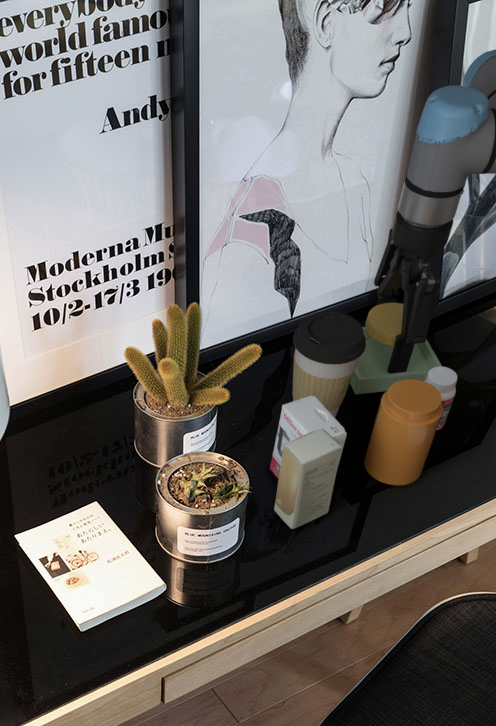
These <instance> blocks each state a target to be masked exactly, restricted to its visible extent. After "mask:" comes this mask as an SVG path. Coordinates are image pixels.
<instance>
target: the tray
mask: <svg viewBox="0 0 496 726" xmlns="http://www.w3.org/2000/svg"><path fill="white" fill-rule="evenodd" d="M362 328H363V333H364V336H365V339H366V347H365V351H364V352H363V354H362V355H361V356H360V357H359V358H358V360H357V366H356V369H355V371H354V374H353V376H352V379H351V381H350V384H349V385H350V386H351V388H352V390H353V393H354V395H364V394H372V393H381V392H386V391H388V388H390V386H391V385H393V384H394V383H396V382H398V381H401V380H405V379H415V380H421V381H425V380H426V377H427V375H428V372H429V371H430V369H432V368H434V367H438V366H442V364H441V361H440V360H439V359H438V357H437V355H436V353H435V351H434V349H433V348H432V346H431V344H430V343H429V341H428V338H426V342H425V343H416V344H415V345H414V348H413V352H412V355H411V358H410V361H409V364H408V368H407V371H406V372H400V373H391V374H389V373H388V371H387V369H388V366H389V362H390V359H391V355H392V352H393V348H394V346H389V345H385V344H382V343H380V342H377V341H376V340H374V339H373V338H370V336H369V334H368V333H367V331H366V329H365V328H366V326H362ZM442 367H443V366H442Z"/></svg>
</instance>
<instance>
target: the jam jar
mask: <svg viewBox="0 0 496 726" xmlns="http://www.w3.org/2000/svg"><path fill="white" fill-rule="evenodd" d="M441 401H442V398H441V395H440V393H439V391H438V390H437V389H436V388H435V387H434V386H432V385H431V384H429V383H427V382H424V381H421V380H415V379H405V380H401V381H398V382H396V383H394V384H393V385H391V386H390V388H388V391H384V393H383V394H382V396H381V399H380V403H379V405H378V409H377V413H376V416H375V420H374V424H373V426H372V431H371V435H370V438H369V441H368V445H367V448H366V452H365V455H364V460H363V465H364V468H365V469H366V472H367V474H368V475H370V476H371V477H372V478H373V479H375V480H377V481H378V482H381V483H383V484H387V485H391V486H405V485H410V484H412V483H414V482H415V481H417V480H418V479H419V478H420V477H421V475H422V473H423V470H424V467H425V464H426V462H427V459H428V455H429V453H430V450H431V447H432V444H433V441H434V439H435V436H436V433H437V431H438V430H437V428H438V425H439V422H440V419H441V416H442V413H443V405H442V402H441Z"/></svg>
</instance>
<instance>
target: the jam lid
mask: <svg viewBox="0 0 496 726" xmlns="http://www.w3.org/2000/svg"><path fill="white" fill-rule="evenodd" d="M402 316H403V303H399V302H396V303H383V304H379V305H377V306H376V305H375V306H373V307H372V308H371V309H370V310H369V312H368V313H367V317H366V319H365V324H364V325H365V327H366V328H365V329H366V331H367V333H368V334H369V336H370V337H371V338H373V339H374V340H376V341H377V342H380V343H382V344H385V345H389V346H394V345H395V341H396V336H397V335H398V334H401V328H402Z"/></svg>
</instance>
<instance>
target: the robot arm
mask: <svg viewBox="0 0 496 726" xmlns="http://www.w3.org/2000/svg"><path fill="white" fill-rule="evenodd" d="M415 134H416V135H415V139H414V143H413V146H412V151H411V156H410V160H409V164H408V167H407V168H408V169H407V173H406V176H405V178H404V182H403V185H402V189H401V193H400V197H399V201H398V205H397V212H396V214H395V218H394V223H393V226H392V228H390V229H389V231H388V239H387V243H386V246H385V248H384V252H383V255H382V258H381V260H380V262H379V266H378V268H377V271H376V274H375V277H374V280H373V285H374V287H378V288H377V291H376V295H377V301H376V304H375V306H377V305H379V304H383V303H397V301H398V299H397V298H396V297H395V296H399V295H400V290H399V289H400V288H401V290H402V291H403V292H404V293H403V303H402V304H403V316H402V328H401V334H398V335H397V336H396V341H395V345H394V348H393V352H392V355H391V359H390V362H389V366H388V369H387V371H388V373H389V374H391V373H400V372H406V371H407V368H408V364H409V361H410V358H411V355H412V352H413V348H414V345H415V344H416V343H425V342H426V339H428V338H427V337H428V333H429V327H430V324H431V323H430V322H431V318H432V314H433V308H434V305H435V300H436V295H437V293H438V290H439V287H440V286H441V277H440V276H433V273H432V270H433V266H434V265H433V263H434V257H435V255H436V254H438V253H439V252H441V251H442V250H443V249H444V248H445V247H446V246H447V244H448V241H449V238H450V235H451V231H452V228H453V225H454V219H455V216H456V214H457V210H458V207H459V204H460V200H461V197H462V195H464V192H465V189H464V188H465V186H466V182H467V180H468V177H469V175H486V174H491V175H492V174H493V175H495V174H496V49H492V50H487V51H485V52H483V53H481V54H480V55H479V56H477V57H476V58H475V59H474V60H473V61H472V63H471V64H470V65H469V67H468V68H467V70H466V72H465V74H464V76H463V81H462V85H459V84H458V85H446V86H442V87H439V88H438V89H435V90H434V91H433V92H431V94H430V95H429V96H428V97H427V100H426V102H425V105H424V108H423V110H422V112H421V116H420V119H419V123H418V125H417V127H416V130H415ZM392 296H393V297H392ZM370 338H371V337H370Z"/></svg>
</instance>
